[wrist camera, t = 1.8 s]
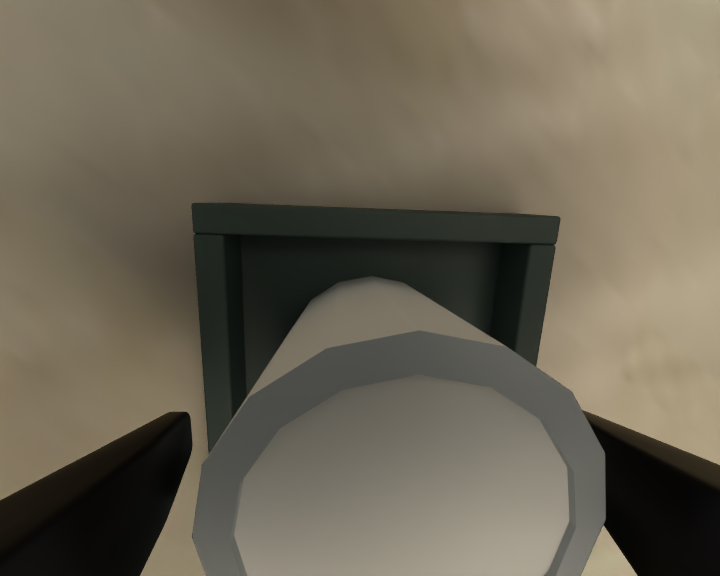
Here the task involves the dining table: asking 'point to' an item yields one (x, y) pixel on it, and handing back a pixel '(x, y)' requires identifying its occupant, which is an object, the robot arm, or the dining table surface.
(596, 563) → the dining table surface
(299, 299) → the divided green tray
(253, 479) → the shot glass
